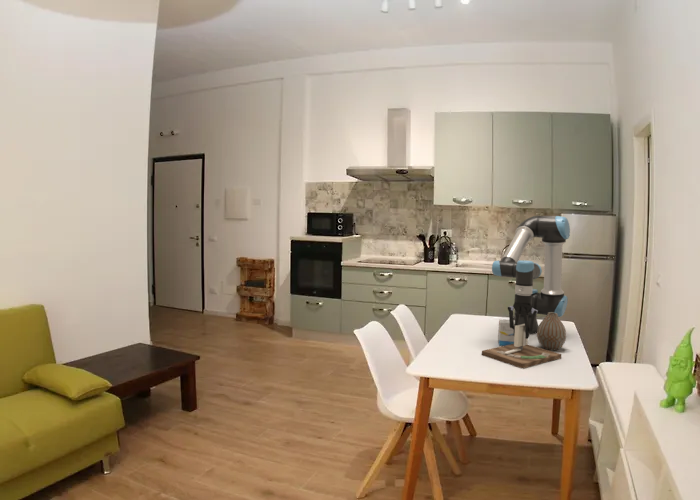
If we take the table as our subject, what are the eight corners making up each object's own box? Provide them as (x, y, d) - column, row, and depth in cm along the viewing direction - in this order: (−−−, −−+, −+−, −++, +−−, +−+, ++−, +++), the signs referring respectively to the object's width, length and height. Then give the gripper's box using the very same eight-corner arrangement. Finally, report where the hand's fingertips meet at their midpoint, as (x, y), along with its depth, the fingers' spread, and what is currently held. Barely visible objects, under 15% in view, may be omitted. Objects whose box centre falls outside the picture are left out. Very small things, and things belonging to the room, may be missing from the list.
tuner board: (519, 346, 237) (520, 341, 237) (561, 358, 219) (561, 353, 219) (481, 354, 222) (481, 350, 221) (522, 368, 204) (523, 363, 203)
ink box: (517, 347, 236) (518, 323, 235) (499, 345, 238) (500, 322, 237) (514, 342, 244) (516, 320, 244) (497, 341, 246) (498, 318, 245)
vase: (536, 350, 231) (538, 314, 230) (535, 343, 244) (537, 309, 242) (566, 353, 227) (568, 317, 226) (564, 346, 239) (566, 311, 238)
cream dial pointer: (523, 347, 226) (524, 323, 225) (527, 348, 225) (528, 324, 224) (503, 353, 216) (504, 328, 215) (507, 354, 215) (508, 329, 214)
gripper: (503, 293, 222) (500, 343, 224) (539, 297, 213) (536, 349, 215) (508, 291, 229) (505, 339, 230) (543, 295, 219) (540, 345, 221)
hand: (520, 344), depth 223 cm, fingers closed on cream dial pointer, 3 cm apart
